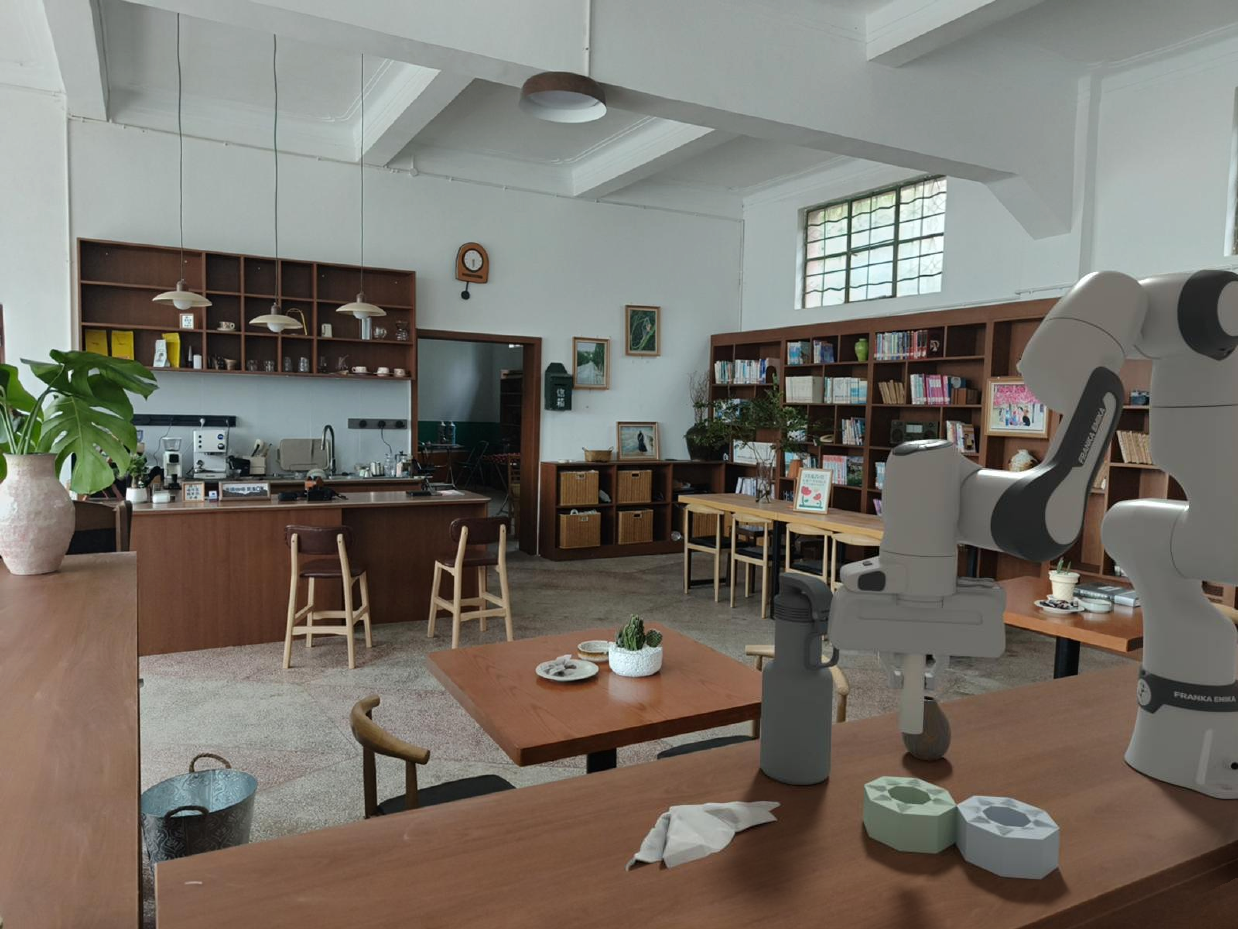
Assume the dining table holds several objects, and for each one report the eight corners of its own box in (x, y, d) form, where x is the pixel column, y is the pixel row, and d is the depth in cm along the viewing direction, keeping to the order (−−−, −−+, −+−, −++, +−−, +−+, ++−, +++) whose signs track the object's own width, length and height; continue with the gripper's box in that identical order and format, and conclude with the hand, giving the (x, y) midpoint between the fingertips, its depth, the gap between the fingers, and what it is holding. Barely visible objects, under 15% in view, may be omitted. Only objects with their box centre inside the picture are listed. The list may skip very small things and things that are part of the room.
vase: (954, 767, 120) (956, 708, 119) (904, 762, 121) (906, 703, 121) (945, 748, 126) (947, 692, 126) (898, 744, 128) (900, 688, 127)
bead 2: (1033, 835, 100) (1035, 799, 100) (1069, 881, 90) (1071, 841, 90) (947, 829, 101) (949, 794, 101) (973, 874, 91) (975, 835, 91)
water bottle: (847, 778, 115) (853, 580, 114) (795, 794, 110) (801, 587, 109) (795, 753, 124) (800, 568, 122) (745, 766, 119) (750, 573, 117)
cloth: (756, 791, 113) (757, 774, 112) (824, 837, 100) (825, 819, 100) (582, 832, 101) (583, 814, 101) (636, 891, 89) (636, 870, 88)
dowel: (919, 726, 101) (923, 629, 101) (925, 734, 98) (929, 635, 98) (895, 724, 102) (900, 628, 101) (901, 733, 99) (905, 634, 98)
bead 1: (939, 814, 105) (940, 779, 105) (962, 855, 95) (964, 817, 95) (858, 808, 106) (859, 774, 106) (873, 849, 96) (874, 811, 96)
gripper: (998, 574, 101) (993, 685, 102) (827, 566, 103) (823, 675, 104) (1017, 584, 95) (1011, 702, 96) (835, 576, 97) (830, 692, 98)
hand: (911, 688), depth 100 cm, fingers closed on dowel, 3 cm apart
